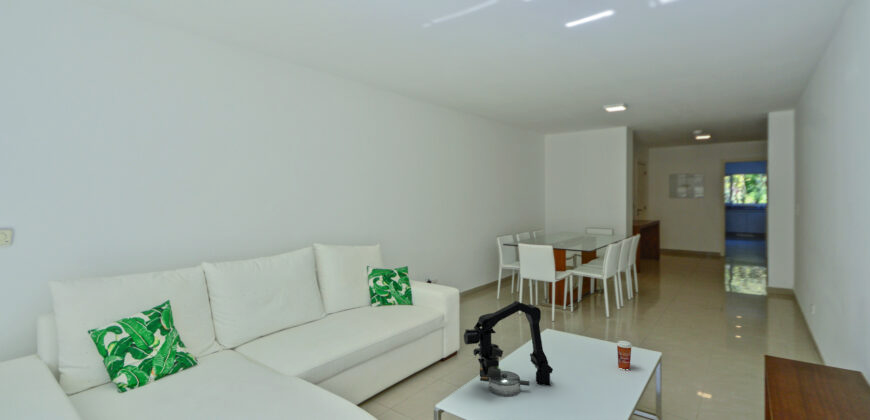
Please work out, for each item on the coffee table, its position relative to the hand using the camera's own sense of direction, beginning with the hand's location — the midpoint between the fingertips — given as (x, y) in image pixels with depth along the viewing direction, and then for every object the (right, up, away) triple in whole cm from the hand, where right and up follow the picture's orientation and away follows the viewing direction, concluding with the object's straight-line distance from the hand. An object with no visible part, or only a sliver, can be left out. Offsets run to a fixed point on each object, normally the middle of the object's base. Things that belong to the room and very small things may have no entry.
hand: (485, 374), depth 198 cm
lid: (+7, -2, +2) cm, 7 cm away
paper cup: (+79, -7, +25) cm, 83 cm away
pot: (+9, -8, +1) cm, 12 cm away
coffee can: (+4, -7, +21) cm, 23 cm away
